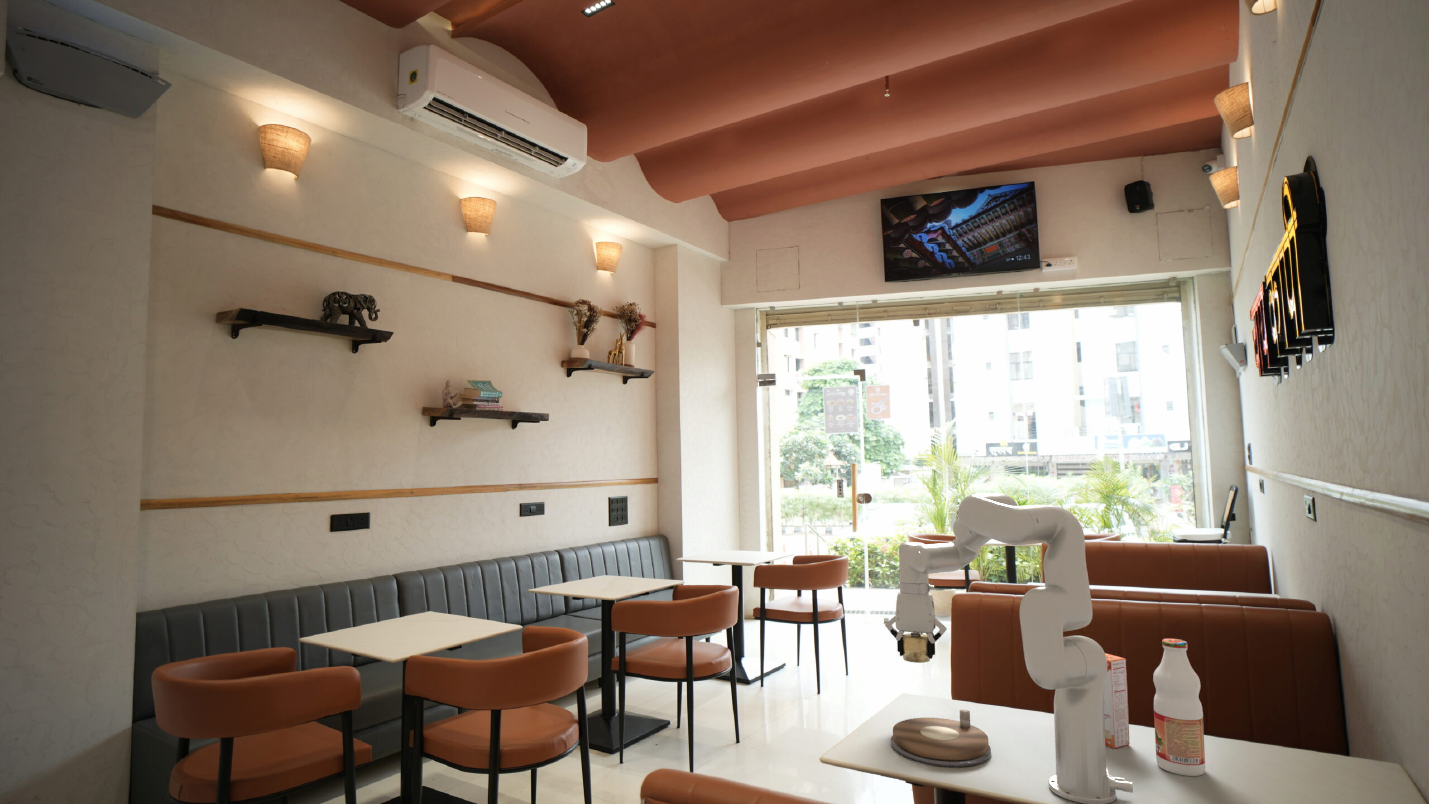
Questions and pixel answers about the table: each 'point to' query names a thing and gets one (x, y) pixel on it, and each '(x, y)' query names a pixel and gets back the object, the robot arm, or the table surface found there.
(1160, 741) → the fruit juice
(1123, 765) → the table surface
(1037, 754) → the table surface
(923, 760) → the turntable base
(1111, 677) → the cracker box
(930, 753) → the turntable
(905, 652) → the cover
